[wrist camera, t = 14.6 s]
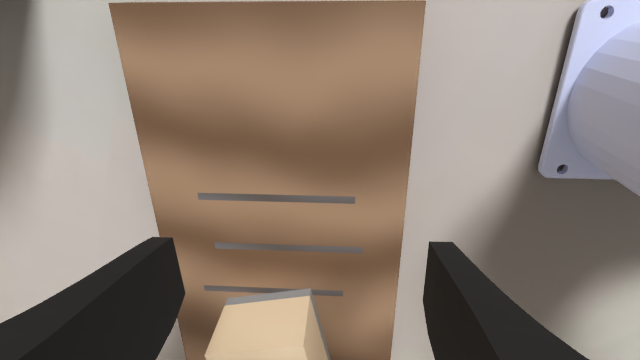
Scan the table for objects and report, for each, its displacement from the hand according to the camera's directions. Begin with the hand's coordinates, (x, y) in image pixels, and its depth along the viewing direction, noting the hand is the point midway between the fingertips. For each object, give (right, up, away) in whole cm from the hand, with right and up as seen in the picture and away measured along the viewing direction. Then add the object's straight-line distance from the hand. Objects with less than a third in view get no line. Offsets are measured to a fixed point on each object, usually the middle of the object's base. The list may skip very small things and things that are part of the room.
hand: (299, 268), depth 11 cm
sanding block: (-2, -8, +13) cm, 15 cm away
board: (-2, 0, +11) cm, 11 cm away
